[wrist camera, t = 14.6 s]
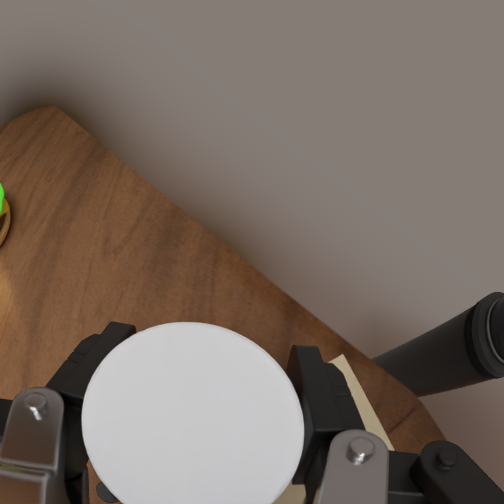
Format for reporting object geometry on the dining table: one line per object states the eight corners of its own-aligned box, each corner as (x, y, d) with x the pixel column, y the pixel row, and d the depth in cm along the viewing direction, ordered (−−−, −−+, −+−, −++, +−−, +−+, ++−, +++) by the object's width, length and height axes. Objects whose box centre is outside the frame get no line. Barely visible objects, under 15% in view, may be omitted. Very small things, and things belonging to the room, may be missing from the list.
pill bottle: (273, 376, 13) (342, 322, 6) (256, 478, 11) (307, 557, 3) (166, 355, 13) (101, 274, 6) (144, 456, 11) (49, 497, 3)
